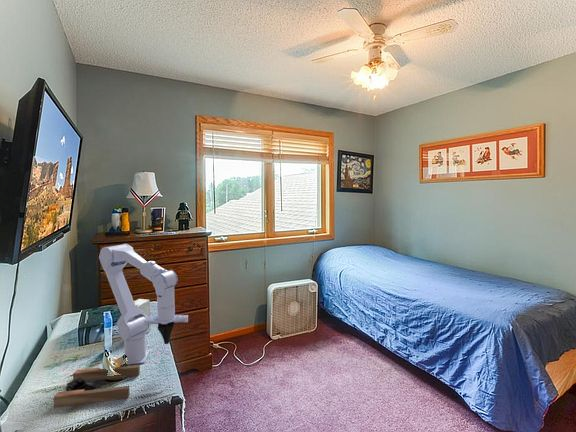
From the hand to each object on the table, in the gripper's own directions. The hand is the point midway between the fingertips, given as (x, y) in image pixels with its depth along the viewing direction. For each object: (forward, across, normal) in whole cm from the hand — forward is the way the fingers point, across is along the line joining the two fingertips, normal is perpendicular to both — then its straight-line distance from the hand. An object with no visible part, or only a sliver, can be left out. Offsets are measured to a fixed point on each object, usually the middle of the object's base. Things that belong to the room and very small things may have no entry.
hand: (167, 342), depth 110 cm
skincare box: (+10, -17, +31) cm, 37 cm away
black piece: (+10, -25, -9) cm, 29 cm away
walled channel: (+9, -19, -8) cm, 23 cm away
